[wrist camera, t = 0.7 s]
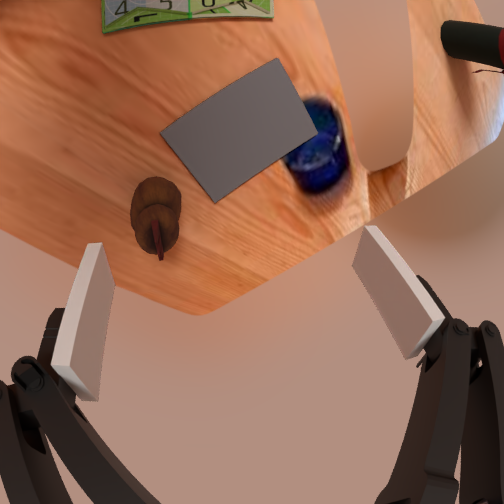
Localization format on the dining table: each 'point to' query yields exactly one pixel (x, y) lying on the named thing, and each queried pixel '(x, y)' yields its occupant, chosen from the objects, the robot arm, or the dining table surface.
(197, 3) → the green number grid board
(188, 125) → the charcoal rubber mat
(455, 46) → the wine bottle
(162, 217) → the wooden figurine
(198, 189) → the dining table surface
